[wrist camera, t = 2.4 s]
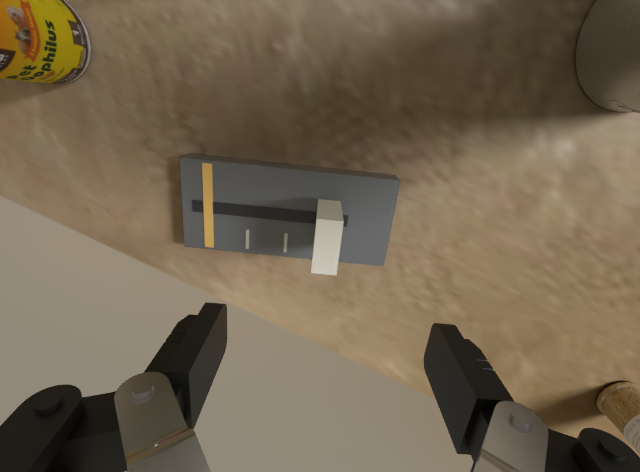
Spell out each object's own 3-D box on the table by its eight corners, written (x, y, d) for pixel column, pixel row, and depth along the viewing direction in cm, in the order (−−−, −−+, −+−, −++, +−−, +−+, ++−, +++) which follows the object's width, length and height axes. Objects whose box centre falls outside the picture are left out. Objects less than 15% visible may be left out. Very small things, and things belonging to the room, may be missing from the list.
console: (190, 153, 25) (178, 157, 23) (394, 175, 26) (400, 180, 24) (193, 237, 28) (184, 247, 26) (379, 255, 28) (383, 266, 26)
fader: (318, 196, 24) (316, 218, 19) (340, 198, 24) (343, 221, 19) (313, 241, 25) (311, 272, 20) (334, 243, 25) (336, 275, 20)
